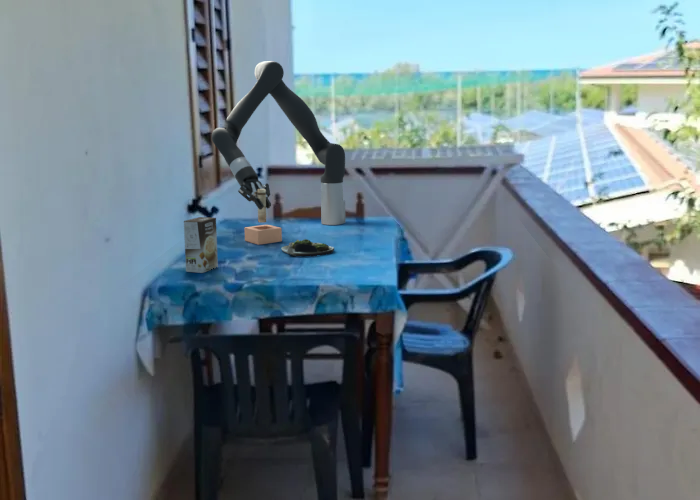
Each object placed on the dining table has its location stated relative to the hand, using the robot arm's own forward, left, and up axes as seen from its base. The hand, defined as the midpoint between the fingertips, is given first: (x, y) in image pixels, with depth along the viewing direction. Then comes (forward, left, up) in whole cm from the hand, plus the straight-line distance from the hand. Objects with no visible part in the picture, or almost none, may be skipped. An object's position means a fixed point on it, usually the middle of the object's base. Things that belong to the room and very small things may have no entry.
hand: (265, 207), depth 290 cm
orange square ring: (0, -2, -13) cm, 13 cm away
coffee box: (+39, +27, -13) cm, 49 cm away
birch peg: (0, -2, -6) cm, 6 cm away
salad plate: (-1, +25, -13) cm, 29 cm away
